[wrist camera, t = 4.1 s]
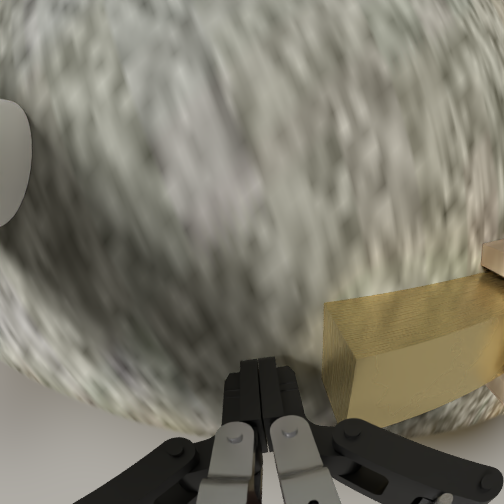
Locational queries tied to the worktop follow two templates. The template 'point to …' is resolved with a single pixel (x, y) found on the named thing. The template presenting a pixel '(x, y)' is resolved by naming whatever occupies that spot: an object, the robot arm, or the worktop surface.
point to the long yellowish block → (412, 348)
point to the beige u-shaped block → (500, 261)
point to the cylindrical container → (13, 158)
